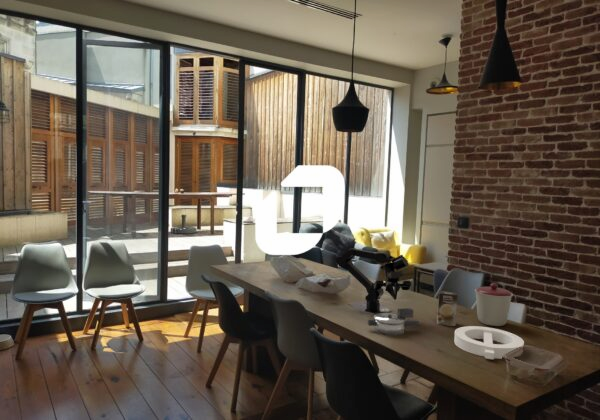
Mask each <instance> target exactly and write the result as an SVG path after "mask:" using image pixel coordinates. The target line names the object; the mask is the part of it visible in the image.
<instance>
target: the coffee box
mask: <svg viewBox="0 0 600 420" xmlns="http://www.w3.org/2000/svg"><path fill="white" fill-rule="evenodd" d="M437 300H438V301H437V314H436V324H437V325H442V326H448V327H449V326H450V327H456V322H457V306H458V292H454V291H453V292H452V291H447V290H438V299H437Z"/></svg>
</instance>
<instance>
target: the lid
mask: <svg viewBox="0 0 600 420" xmlns="http://www.w3.org/2000/svg"><path fill="white" fill-rule="evenodd" d="M411 318H414V309H413V308H407V307H406V308H397V314H396V313H391V312H380V313H376V314H375V313H374V315H373V320H376V321H378V322H380V323H385V324H403V323H405V320H407V319H411Z"/></svg>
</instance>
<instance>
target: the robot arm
mask: <svg viewBox="0 0 600 420" xmlns="http://www.w3.org/2000/svg"><path fill="white" fill-rule="evenodd" d="M354 257H360V258H364V259H370V260H373V261H374V262H377V263H379V264H381V265H380V267H379V268H380V270H382V271H383V272H384V279H385V282H384V279H376V280H375V281H374V282H372V281H371V280H370V279H369V278H368V277H367V276H365V274H364V273H363V272H361V270H360V269H358V268H357V267H356V266H355V265H354V263H353V258H354ZM335 263H336V265H337V266H338V267H340V268H342V269H344V270H346V271H348V273H349V274H350V275H352V277H354V278H355V280H357V281H358V283H360V284H361V285H362V286H363V288H365V291H366V293H367V295H365V296H364V298H365V301H366V305H365V307H366V308H365V309H364V311H365V312H368V313H373V314H375V313H376V314H377V313H378V312H380V311H381V308H380V304H381V303H380V299H381V297H382V296H383V295H384V289H383V288H385V292H387V293H388V294H389V295H390V296H391V297H392V299H393V300H395V301H396V300H397V298H398V297H397V296H398V292H399V291H400V290H402V291H410V289H411V286H412V281H411V280H407V279H405V280H402V282H399V281H400V279H401V278H403V277H404V271H403V269H405V268H408V267H409V261H408V260H407V258H405V256H404V255H403V254H400V255H398V256H397V257H394V256H392V255H391V254H390V253H389V252H388V251H370V250H365V249H359V248H355V247H354V248H353V247H352V248H350V249H348V251H346V252H345V253H343V254H342V255H340V256H337V257H336V258H335Z"/></svg>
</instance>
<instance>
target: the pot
mask: <svg viewBox="0 0 600 420" xmlns="http://www.w3.org/2000/svg"><path fill="white" fill-rule="evenodd" d="M367 325H368V326H372V327H373V326H374V331H375V332H376V333H378V334H380V335H384V336H400V335H403V334H404V333H405V327H417V326H419V320H417V319H406V320H405V323H403V324H385V323H380V322H378V321H376V320H375V319H367Z"/></svg>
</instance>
